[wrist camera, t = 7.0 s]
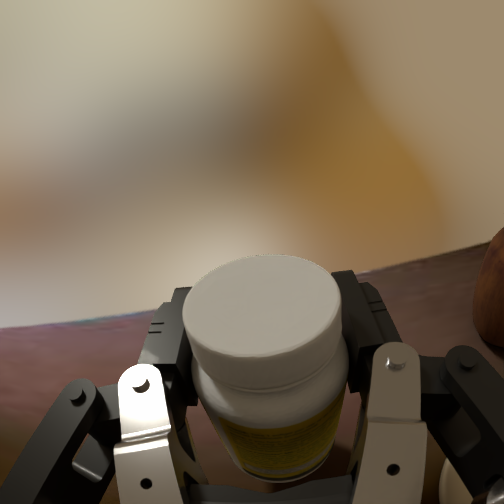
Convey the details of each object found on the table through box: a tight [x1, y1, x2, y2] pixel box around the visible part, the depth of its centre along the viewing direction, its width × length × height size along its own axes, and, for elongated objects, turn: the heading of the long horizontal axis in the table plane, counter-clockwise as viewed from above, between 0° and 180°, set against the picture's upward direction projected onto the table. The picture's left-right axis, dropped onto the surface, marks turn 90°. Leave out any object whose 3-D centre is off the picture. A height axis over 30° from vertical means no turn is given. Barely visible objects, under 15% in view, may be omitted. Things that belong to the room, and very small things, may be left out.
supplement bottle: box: [182, 254, 349, 483], centre depth 10 cm, size 5×5×8 cm
